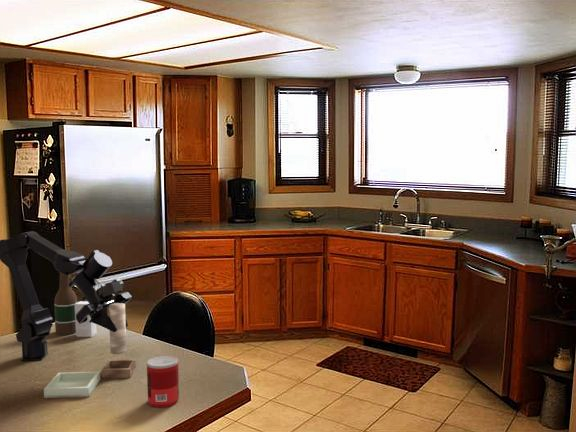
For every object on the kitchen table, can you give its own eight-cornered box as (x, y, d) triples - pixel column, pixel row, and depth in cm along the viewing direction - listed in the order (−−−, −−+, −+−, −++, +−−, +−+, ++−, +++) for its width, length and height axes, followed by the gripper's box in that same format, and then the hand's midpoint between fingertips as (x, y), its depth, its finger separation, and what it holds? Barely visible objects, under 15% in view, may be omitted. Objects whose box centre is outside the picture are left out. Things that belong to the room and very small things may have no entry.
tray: (44, 398, 149) (43, 389, 149) (58, 381, 160) (58, 372, 160) (89, 396, 150) (88, 387, 149) (100, 379, 161) (100, 371, 161)
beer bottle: (82, 330, 208) (80, 266, 205) (68, 336, 200) (65, 270, 198) (65, 328, 210) (63, 265, 208) (50, 334, 203) (47, 268, 200)
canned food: (184, 401, 147) (184, 360, 146) (158, 411, 141) (157, 368, 140) (167, 392, 152) (166, 353, 151) (142, 402, 147) (140, 361, 145)
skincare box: (97, 333, 204) (95, 301, 203) (91, 337, 199) (90, 304, 198) (80, 333, 204) (79, 300, 203) (75, 336, 200) (74, 303, 199)
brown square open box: (102, 378, 162) (101, 369, 162) (108, 367, 170) (108, 359, 170) (130, 377, 163) (130, 369, 163) (136, 367, 171) (135, 359, 171)
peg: (108, 354, 163) (107, 307, 162) (112, 349, 168) (111, 303, 166) (124, 354, 164) (123, 307, 162) (127, 348, 168) (126, 303, 167)
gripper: (82, 277, 156) (115, 320, 153) (126, 265, 173) (156, 304, 170) (61, 302, 160) (93, 344, 157) (106, 288, 177) (135, 326, 174)
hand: (121, 329), depth 165 cm, fingers closed on peg, 4 cm apart
